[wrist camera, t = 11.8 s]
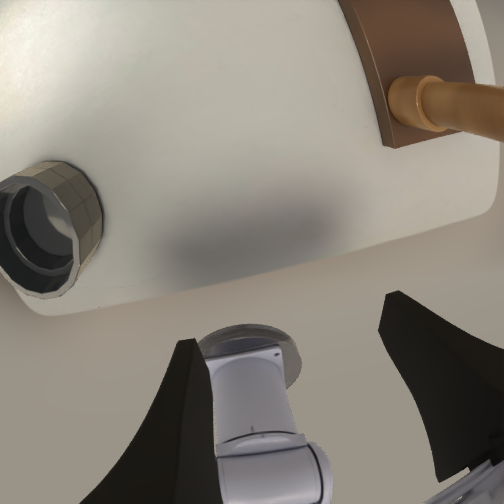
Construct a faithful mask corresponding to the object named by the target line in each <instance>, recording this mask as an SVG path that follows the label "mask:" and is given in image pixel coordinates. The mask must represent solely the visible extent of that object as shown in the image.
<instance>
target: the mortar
mask: <svg viewBox="0 0 504 504" xmlns="http://www.w3.org/2000/svg"><path fill="white" fill-rule="evenodd" d="M101 236H102V212H101V209H100V206H99V203H98V199H97V196H96V193H95V191H94V189H93V188H92V187H91V185H90V184H89V183H88V181H87V180H86V179H85V177H84V176H83V175H82V174H81V173H80V172H79V171H77V170H75V169H74V168H72V167H70V166H69V165H67V164H65V163H63V162H51V161H45V162H42V163H39V164H37V165H35V166H32V167H30V168H27V169H25V170H23V171H21V172H18V173H16V174H14V175H12V176H10V177H8V178H7V179H5V180H3V181H1V182H0V272H1V273H2V275H3V276H4V277H5V278H6V279H7V281H8V282H9V283H10V284H11V285H13V286H14V287H16V288H17V289H19V290H20V291H22V292H23V293H24V294H27V295H29V296H33V297H36V298H40V299H50V298H55V297H60V296H62V295H63V294H64V293H65V292H66V291H68V290H69V289H70V288H71V287H72V286H73V285H74V284H75V282H76V281H77V279H78V278H79V276H80V274H81V273H82V271H83V270H84V268H85V267H86V265H87V264H88V262H89V261H90V259H91V258H92V256H93V255H94V253H95V251H96V248H97V246H98V244H99V241H100V239H101Z"/></svg>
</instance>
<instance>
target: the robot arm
mask: <svg viewBox="0 0 504 504" xmlns="http://www.w3.org/2000/svg"><path fill="white" fill-rule="evenodd" d="M378 332H379V334H380V336H381V338H382V341H383V344H384V346H385V348H386V350H387V352H388V354H389V356H390V357H391V359H392V360H393V362H394V364H395V366H396V368H397V369H398V371H399V373H400V374H401V376H402V378H403V379H404V381H405V383H406V385H407V386H408V388H409V390H410V392H411V393H412V396H413V398H414V400H415V402H416V404H417V407H418V409H419V412H420V414H421V417H422V420H423V423H424V426H425V429H426V432H427V435H428V439H429V443H430V446H431V450H432V455H433V460H434V466H435V473H436V477H437V479H438V482H439V483H440V482H442V481H444V480H446V479H448V478H450V477H451V476H453V475H455V474H457V473H459V472H460V471H462V470H464V469H465V468H466V467H468V468H469V470H470V472H469V473H468V474H467V475H465V476H464V477H462V478H461V479H460V480H458V481H457V482H455V483H454V484H452V485H451V486H449V487H448V488H446V489H444V490H443V491H441V492H440V493H438V494H436V495H435V496H433V497H431V498H430V499H428V500H426V501H424V502H422V503H421V504H504V349H502V348H499V347H496V346H494V345H491V344H489V343H487V342H485V341H483V340H481V339H478V338H476V337H474V336H472V335H470V334H468V333H467V332H465V331H463V330H461V329H460V328H458V327H456V326H454V325H453V324H451V323H450V322H448V321H446V320H445V319H443V318H441V317H440V316H438V315H436V314H435V313H434V312H432V311H430V310H429V309H427V308H426V307H424V306H423V305H421V304H420V303H418V302H417V301H415V300H413V299H412V298H410V297H409V296H407V295H405V294H404V293H402V292H401V291H399V290H398V291H395V292H392V293H389V294H386V296H385V301H384V306H383V311H382V315H381V320H380V324H379V329H378ZM276 353H277V354H276ZM212 391H213V394H212ZM213 401H214V413H215V425H216V436H217V444H216V452H217V457H216V456H215V454H214V435H213ZM332 490H333V473H332V468H331V465H330V462H329V459H328V457H327V455H326V453H325V451H324V450H323V449H322V448H321V447H319V446H318V445H317V444H316V443H314V442H307V441H306V438H305V435H304V434H298V432H297V429H296V425H295V422H294V418H293V415H292V411H291V408H290V404H289V401H288V397H287V394H286V386H285V377H284V368H283V359H282V351H281V347H280V346H272V347H267V348H263V349H258V350H253V351H248V352H243V353H238V354H232V355H227V356H221V357H215V358H209V359H204V358H203V355H202V353H201V351H200V348H199V346H198V344H197V341H196V339H195V338H193V339H187V340H180V341H178V343H177V344H176V347H175V350H174V353H173V355H172V358H171V361H170V363H169V366H168V368H167V371H166V373H165V376H164V378H163V381H162V383H161V385H160V388H159V390H158V392H157V395H156V397H155V399H154V401H153V403H152V405H151V407H150V409H149V411H148V413H147V415H146V417H145V419H144V421H143V423H142V424H141V426H140V428H139V430H138V432H137V433H136V435H135V436H134V438H133V440H132V441H131V443H130V444H129V446H128V447H127V449H126V450H125V452H124V453H123V455H122V456H121V457H120V459H119V460H118V462H117V463H116V464H115V465H114V467H113V468H112V469H111V470H110V471H109V473H108V474H107V475H106V476H105V478H104V479H103V480H102V481H101V482H100V483H99V484H98V486H97V487H96V488H95V489H94V490H93V491H92V492H91V493H89V494H88V496H86V497H85V498H84V499H83V500H82V501H81V502H80V503H79V504H331V493H332ZM461 496H462V498H461V499H459V500H457V501H455V500H456V499H458V498H459V497H461ZM453 501H454V502H453Z"/></svg>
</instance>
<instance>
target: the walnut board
mask: <svg viewBox="0 0 504 504" xmlns="http://www.w3.org/2000/svg"><path fill="white" fill-rule="evenodd" d="M338 1H339V3H340V6H341V8H342V10H343V12H344V15H345V17H346V20H347V22H348V25H349V27H350V30H351V32H352V35H353V37H354V40H355V43H356V46H357V49H358V51H359V54H360V57H361V60H362V63H363V66H364V70H365V73H366V76H367V80H368V83H369V86H370V90H371V94H372V97H373V101H374V105H375V109H376V113H377V117H378V122H379V126H380V131H381V136H382V141H383V145H384V146H387V147H391V148H394V149H396V148H400V147H403V146H407V145H410V144H414V143H418V142H422V141H426V140H429V139H433V138H437V137H441V136H445V135H450V134H454V133H458V132H462V131H459V130H455V129H450V128H447V129H446V130H444V131H442V132H434V131H429V130H425V129H420V128H414V127H409V126H405V125H403V124H401V123H400V122H399V121H398V120H397V119H396V118H395V117H394V116H393V114H392V112H391V110H390V107H389V103H388V91H389V88H390V85H391V84H392V82H393V81H394V80H395V79H397V78H399V77H403V76H423V75H433V76H436V77H439V78H440V79H442V80H443V81H444V82H461V83H475V80H474V75H473V71H472V66H471V62H470V59H469V55H468V51H467V48H466V44H465V41H464V38H463V35H462V32H461V29H460V26H459V23H458V20H457V18H456V15H455V12H454V10H453V7H452V5H451V3H450V0H338Z"/></svg>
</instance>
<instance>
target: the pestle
mask: <svg viewBox="0 0 504 504" xmlns="http://www.w3.org/2000/svg"><path fill="white" fill-rule="evenodd" d="M388 103H389V107H390V110H391V112H392V114H393V116H394V117H395V118H396V119H397V120H398V121H399V122H400V123H401V124H403V125H405V126H409V127H414V128H420V129H425V130H429V131H434V132H442V131H444V130H446V129H447V128H450V129H455V130H459V131H463V132H467V133H471V134H475V135H479V136H483V137H486V138H490V139H493V140H496V141H500V142H503V143H504V87H502V86H494V85H485V84H475V83H461V82H444V81H443V80H442V79H440V78H439V77H436V76H433V75H423V76H403V77H399V78H397V79H395V80H394V81H393V82H392V84H391V85H390V88H389V91H388Z"/></svg>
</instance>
